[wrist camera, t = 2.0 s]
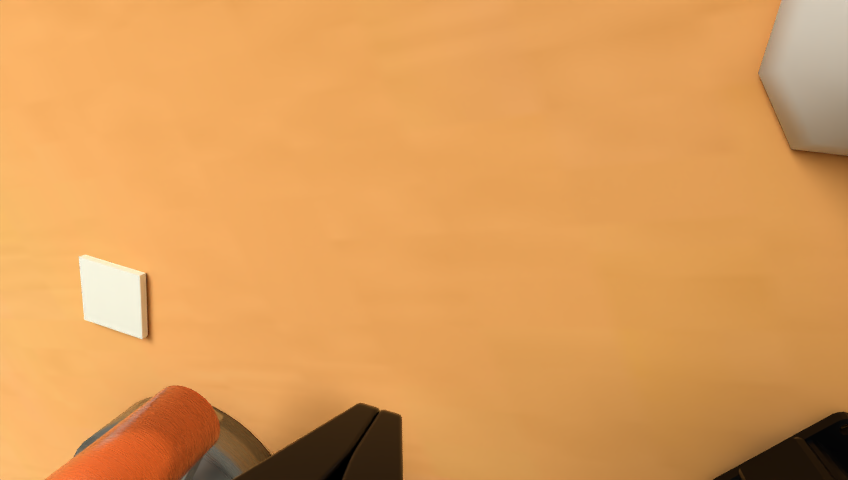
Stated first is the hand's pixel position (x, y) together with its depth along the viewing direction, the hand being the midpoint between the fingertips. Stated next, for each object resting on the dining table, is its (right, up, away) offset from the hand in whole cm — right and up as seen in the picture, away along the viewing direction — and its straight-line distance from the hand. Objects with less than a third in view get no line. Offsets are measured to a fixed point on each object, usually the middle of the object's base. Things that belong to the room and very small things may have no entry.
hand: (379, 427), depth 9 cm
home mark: (-17, 0, +17) cm, 24 cm away
